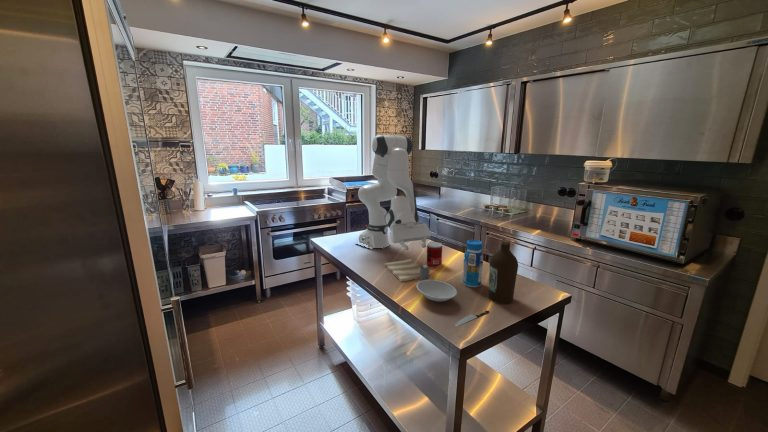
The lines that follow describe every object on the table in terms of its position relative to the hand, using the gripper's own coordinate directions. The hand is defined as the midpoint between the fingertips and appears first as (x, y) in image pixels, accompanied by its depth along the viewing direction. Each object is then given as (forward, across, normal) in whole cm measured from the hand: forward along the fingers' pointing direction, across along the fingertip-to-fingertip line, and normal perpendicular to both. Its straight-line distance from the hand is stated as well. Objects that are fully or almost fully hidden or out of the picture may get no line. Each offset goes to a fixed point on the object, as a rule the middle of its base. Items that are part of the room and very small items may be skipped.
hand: (415, 248), depth 141 cm
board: (+5, +1, -15) cm, 16 cm away
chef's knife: (+38, -2, +17) cm, 42 cm away
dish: (+27, +2, +6) cm, 27 cm away
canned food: (+3, -16, -17) cm, 24 cm away
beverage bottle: (+22, -20, +2) cm, 30 cm away
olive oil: (+33, -22, +13) cm, 42 cm away
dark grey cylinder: (+16, 0, -4) cm, 17 cm away
